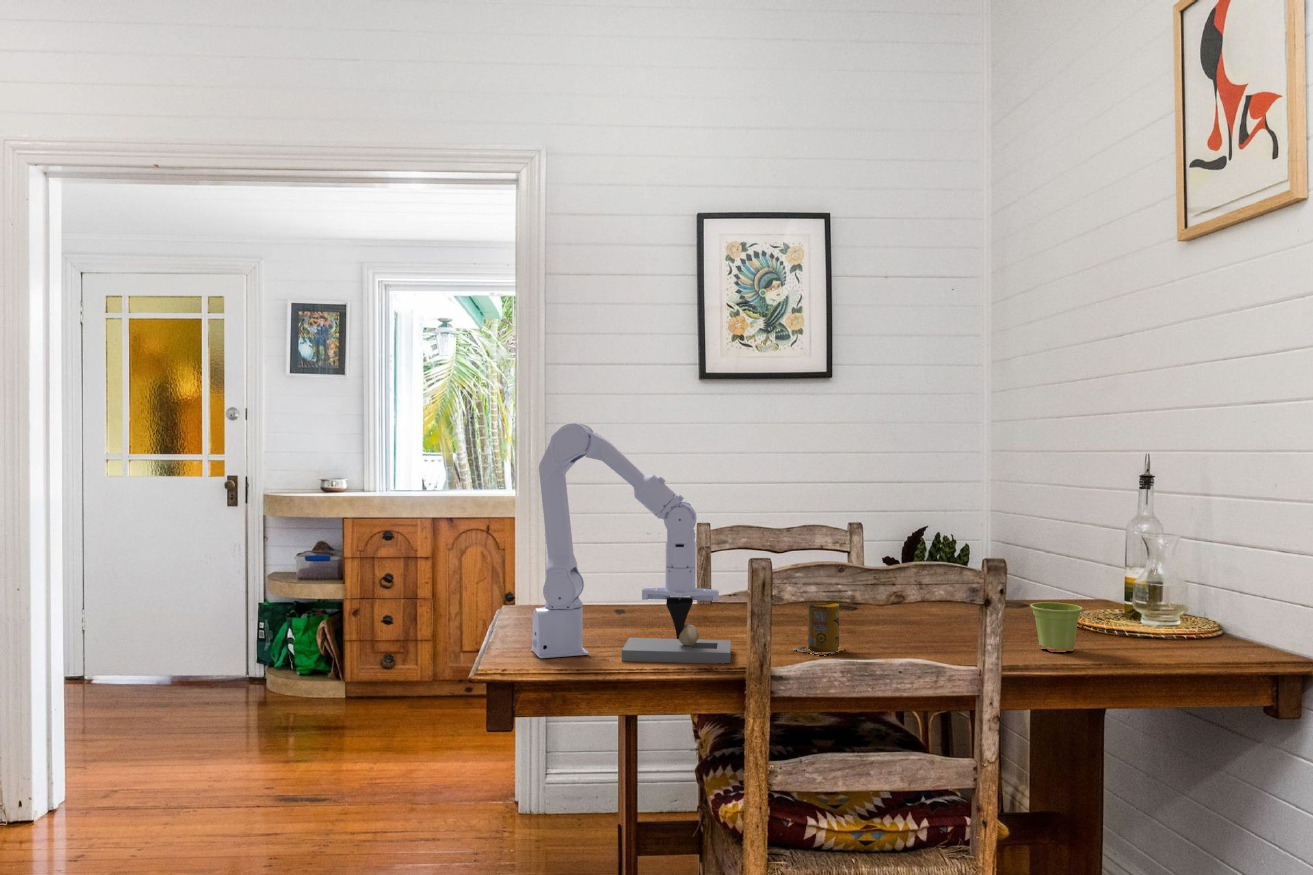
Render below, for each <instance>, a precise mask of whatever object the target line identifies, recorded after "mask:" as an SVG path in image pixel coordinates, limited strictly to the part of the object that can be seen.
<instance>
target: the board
mask: <svg viewBox="0 0 1313 875" xmlns="http://www.w3.org/2000/svg"><path fill="white" fill-rule="evenodd" d="M731 648H732V641H731V639H704V638H702V639H699V638H698V640H697V642H696V643H695V644H693V645H691V646H685V645H683V644H682V643H681V642H680V641H679V639H677V638H661V637H660V638H659V637H658V638H656V637H654V638H653V637H652V638H651V637H628V638H627V641H626V642H625V644H624V645H623V648H622V649H621V661H622V662H639V663H641V662H642V663H645V662H646V663H647V662H649V663H680V664H681V663H685V664H717V663H722V664H721V665H725V664H724V663H729V664H731V653H732V649H731ZM729 664H728V665H729Z"/></svg>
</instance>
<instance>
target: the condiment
mask: <svg viewBox="0 0 1313 875" xmlns="http://www.w3.org/2000/svg"><path fill="white" fill-rule="evenodd" d="M807 604H808V603H807ZM806 647H808V649H810V650H811V651H812V652H813V651H814V652H836V651H838V650H839V648H840V604H839V603H838V604H837V603H827V604H808V605H807V646H801V647H795V648H792V650H793V651H796V650H797V652H801V653H803V652H807V650H806V651H805V650H803V651H802V649H805V648H806ZM798 649H799V650H798ZM811 651H808V652H811ZM815 654H818V653H815ZM822 654H823V653H822ZM809 655H813V654H812V653H810V654H809ZM830 655H833V653H831V654H830ZM824 656H826V655H824ZM824 656H823V657H824Z"/></svg>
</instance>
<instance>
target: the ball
mask: <svg viewBox="0 0 1313 875" xmlns="http://www.w3.org/2000/svg"><path fill="white" fill-rule="evenodd" d="M699 634H700V633H699V630H698V629H697V628H696V626H695V625H694V624H693V625H692V624H690V623H689V624H686V623H685V624H684V627H683V631H682V632H681V633H680V635H679V641H680V642H681V643H682V644H683V645H685V646H691V645H693V644H695V643H696V642H697V640H698V639H699V636H700V635H699Z"/></svg>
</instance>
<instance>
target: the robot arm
mask: <svg viewBox="0 0 1313 875" xmlns="http://www.w3.org/2000/svg"><path fill="white" fill-rule="evenodd" d="M550 436H551V437H550V441H549V444H548V446H547V448H546V449H545V451H544V454H543V456H542V458H541V460H540V463H539V464H538V473H539V482H540V493H541V500H542V501H541V502H542V511H543V513H542V514H543V522H544V530H545V540H546V541H545V542H546V551H547V563H546V568H545V577H546V578H545V581H544V584H543V588H542V595H543V598H544V600H545V602H544V606H542V607H535V608H534V609H533V612H532V618H531V619H532V622H531V623H532V624H531V625H532V626H531V627H532V628H531V631H532V634H531V636H532V637H531V651H532V652H533V653H534V654H535V655H536V657H538V658H539V659H547V658H548V659H549V658H550V659H551V658H560V657H561V658H562V657H563V658H564V657H575V656H587V655H589V651H588V650H586V649H585V648H584V646H583V602H582V601H581V600H580V596H581V594H582V593H583V591H584V588H585V583H584V582H585V581H584V578H583V576H582V574H581V573H580V571H579V569H578V562H577V558H576V557H575V553H574V544H573V537H572V536H573V535H572V527H571V526H572V525H571V519H570V518H571V517H570V507H569V497H568V487H567V486H568V485H567V476H566V474H567V472H568V471H569V470H570V469H571V468H572V467H573V466H574V465H575V463H576V462H577V461H578V460H581V459H582V458H584V457H585V458H588V459H593V460H597V461H601V462H603V463H604V464H606V466H607V467H609V468H610V469H611V470H613V471H614V472H615V474H617V475H618V476H620V477H621V479H623V480H624V481H625V482H627V483H628V484H629V485H631V487H632V488H633V495H634V498H635V499H636V500H637V501H638V502H639V503H641V504H642V505H643V507H645V508H646V509H647V510H648V511H649V512H651V513H652V514H653V515H654V516H655V517H656V518H657V519H658V520H661V519H662V520H663V523H664V526H665V528H666V542H665V587H643V588H642V589H641V600H643V601H644V600H645V601H647V600H665V601H666V604H665V605H666V608H667V610H668V612H669V614H670V616H671V619H672V622H673V626H674V628H675V633H676V635H675V636H676V639H679V635H680V633H681V632H682V631H683V627H684V625H686V620H687V617H688V614H690V610H691V608H692V606H693V603H694V601H712V602H719V597H720V595H719V594H720V590H719V589H715V588H714V589H710V588H709V589H708V588H697V587H696V574H697V573H696V572H697V570H696V568H697V566H696V563H697V562H696V559H697V554H696V553H697V548H696V547H697V544H696V543H697V542H696V531H695V529H694V528H695V526H696V523H697V513H696V511H695V509H694V507H692V505H691V504H690V503H689V502H687V501H683V500H684V498H685V497H684V496H682V495H681V494H679V495H678V494H676V493H675V492H674V491H673V490H672V489H671V488H670V487H668V486H667V485H666V484H665V483H666V480H665V479H664V478H663V477H662V476H659V477H657V476H656V475H655V474H647V475H646V474H644V473H643V472H642V471H641V470H640V469H638V468H637V466H635V464H633V463H632V461H630V459H628V457H627V456H625V454H623V453H622V452H621V451H620V450H619V449H618V448H617V447H615V446H614V444H613V443H611V442H610V441H609V440H608V439H606V438H605V437H603V436H602V435H601V434H599V433H597V432H594V430H593V429H592V428H591V427H589V425H586V424H581V423H576V422H569V423H568V422H567V423H565V424H564V425H562V426H561V427H560V428H559V429H557V430H556V431H555V432H554V434H552V435H550Z"/></svg>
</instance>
